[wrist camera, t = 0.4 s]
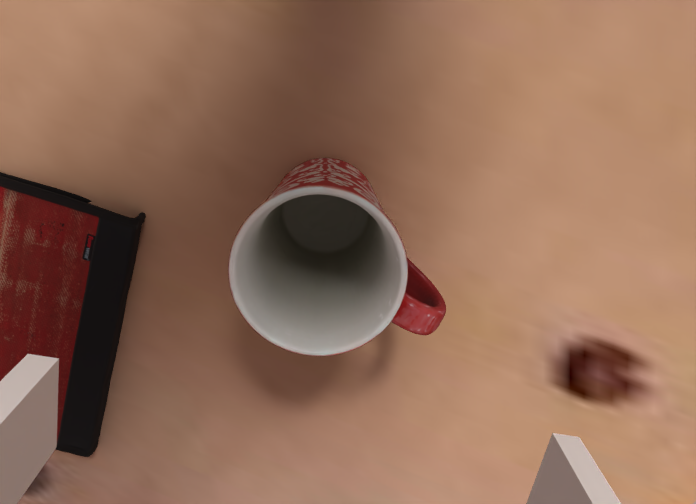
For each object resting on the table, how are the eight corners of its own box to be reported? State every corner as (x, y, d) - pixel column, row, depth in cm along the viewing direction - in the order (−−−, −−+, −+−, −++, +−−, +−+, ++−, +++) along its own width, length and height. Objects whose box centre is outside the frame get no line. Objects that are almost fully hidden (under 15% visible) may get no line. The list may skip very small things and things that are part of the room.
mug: (237, 224, 41) (193, 301, 29) (304, 118, 39) (289, 149, 26) (380, 311, 44) (399, 417, 31) (451, 216, 41) (503, 288, 29)
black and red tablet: (137, 220, 39) (89, 461, 46) (149, 211, 41) (101, 443, 48) (-101, 149, 38) (-115, 408, 44) (-75, 144, 40) (-93, 391, 47)
